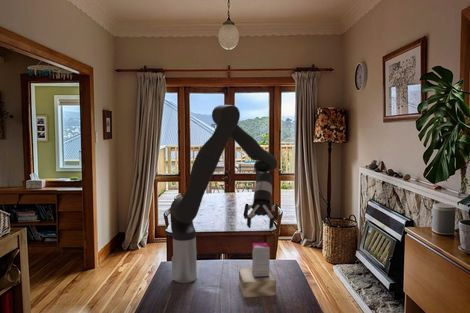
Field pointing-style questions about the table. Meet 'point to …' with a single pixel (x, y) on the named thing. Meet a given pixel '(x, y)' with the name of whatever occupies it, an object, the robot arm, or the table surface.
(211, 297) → the table surface
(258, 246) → the supplement box
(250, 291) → the birch block
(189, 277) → the robot arm
